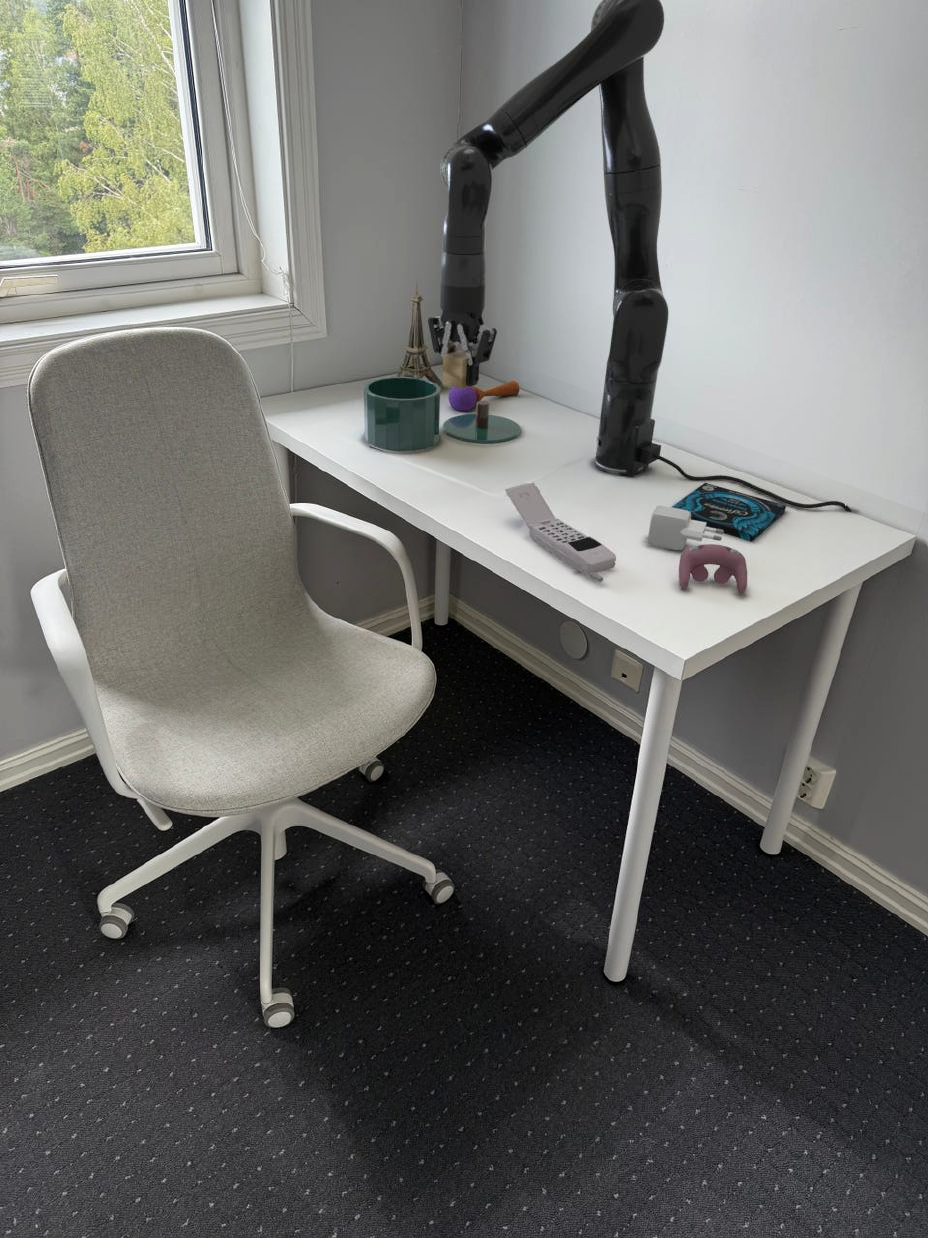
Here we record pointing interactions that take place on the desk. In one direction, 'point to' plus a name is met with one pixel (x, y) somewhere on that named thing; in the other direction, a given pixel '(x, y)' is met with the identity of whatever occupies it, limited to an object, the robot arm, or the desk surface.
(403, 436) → the pot
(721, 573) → the video game controller
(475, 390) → the kendama
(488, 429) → the lid
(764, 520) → the guitar string package
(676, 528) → the power adapter
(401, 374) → the eiffel tower
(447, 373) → the block
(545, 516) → the mobile phone
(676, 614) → the desk surface
